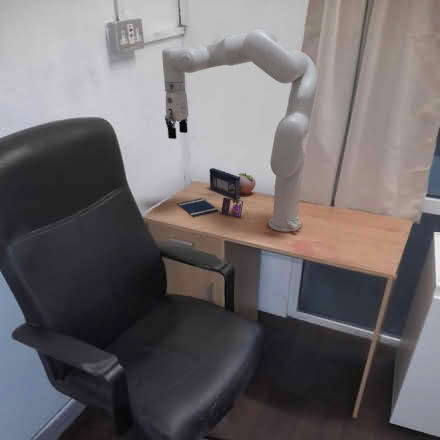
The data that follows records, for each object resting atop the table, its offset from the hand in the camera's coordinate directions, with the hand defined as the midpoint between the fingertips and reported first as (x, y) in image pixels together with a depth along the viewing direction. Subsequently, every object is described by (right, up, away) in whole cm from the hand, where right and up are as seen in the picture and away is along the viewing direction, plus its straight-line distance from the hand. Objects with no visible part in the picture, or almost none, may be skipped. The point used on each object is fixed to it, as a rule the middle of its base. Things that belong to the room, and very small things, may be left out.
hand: (178, 135), depth 162 cm
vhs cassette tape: (+18, -15, +33) cm, 40 cm away
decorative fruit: (+28, -15, +32) cm, 45 cm away
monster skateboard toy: (+22, -28, +14) cm, 38 cm away
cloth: (+7, -24, +19) cm, 32 cm away
